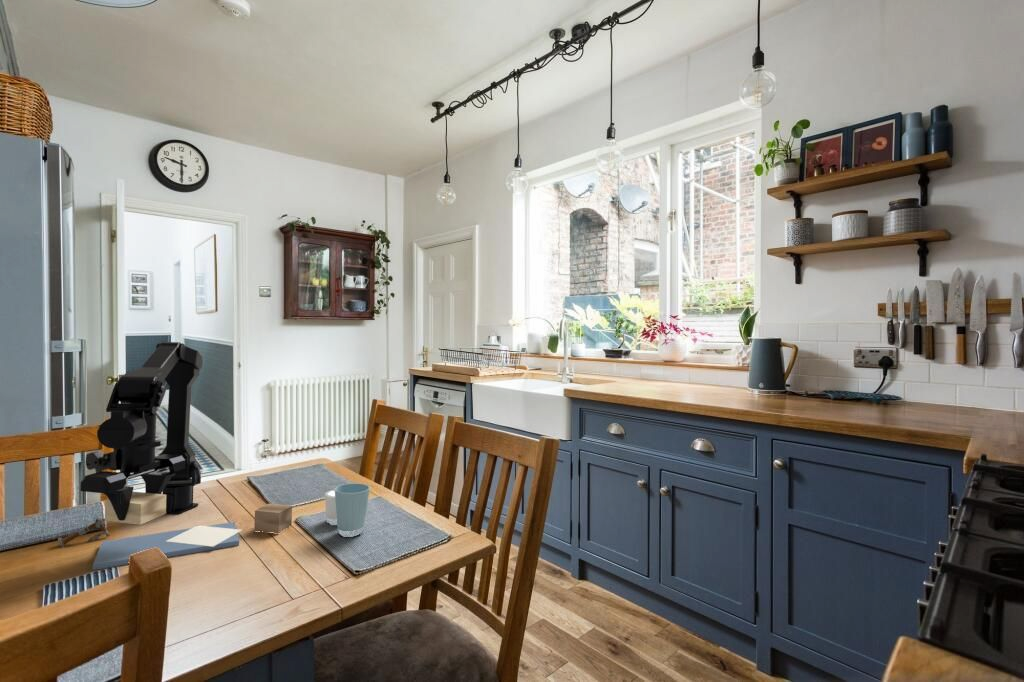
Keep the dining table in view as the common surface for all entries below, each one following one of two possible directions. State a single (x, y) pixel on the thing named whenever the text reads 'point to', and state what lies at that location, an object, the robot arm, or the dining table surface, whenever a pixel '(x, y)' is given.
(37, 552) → the dining table surface
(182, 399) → the robot arm
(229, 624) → the dining table surface
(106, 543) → the board
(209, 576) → the dining table surface
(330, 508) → the shot glass
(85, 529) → the wooden post with brackets
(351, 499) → the cup
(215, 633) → the dining table surface
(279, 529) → the walnut block
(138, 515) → the beech block
